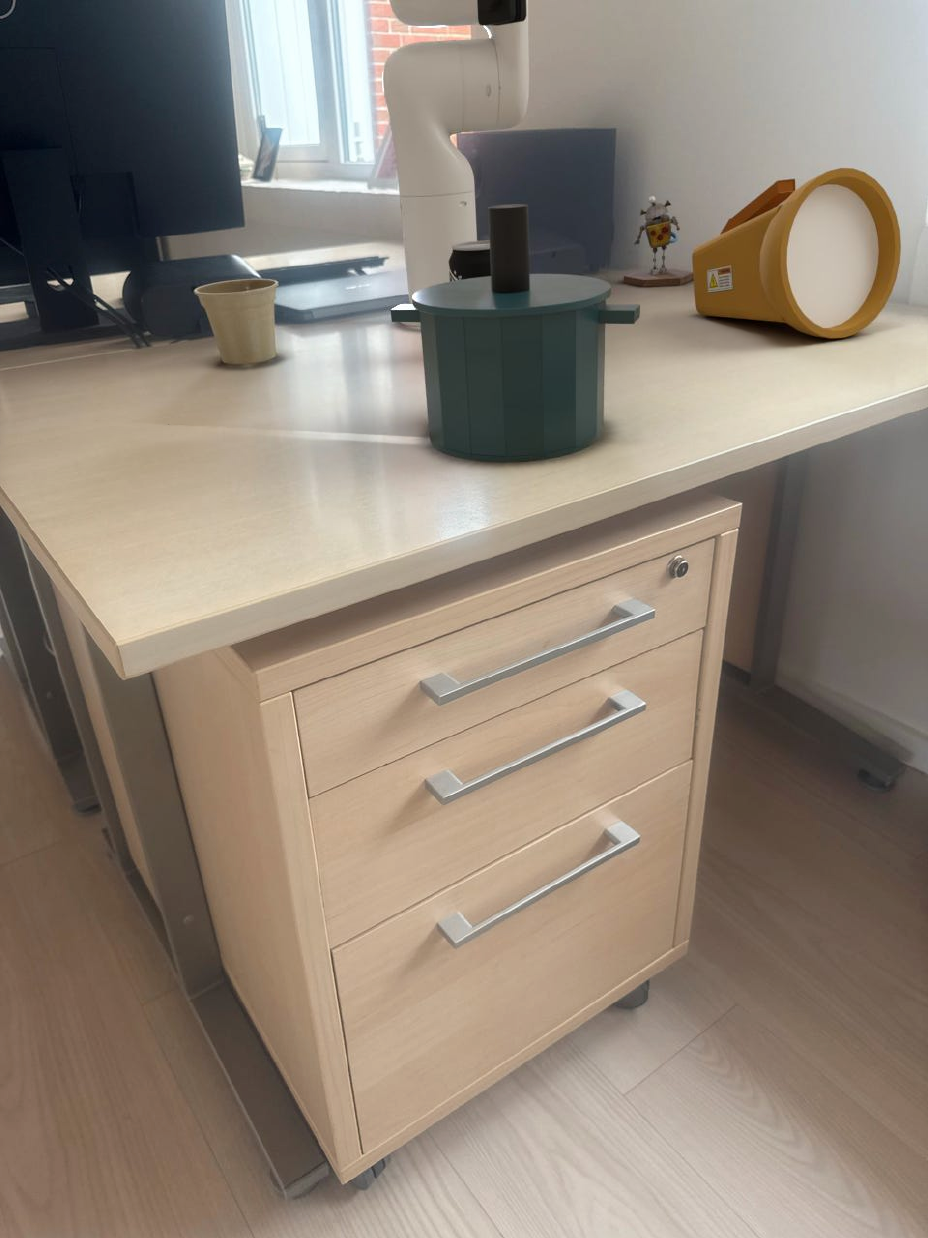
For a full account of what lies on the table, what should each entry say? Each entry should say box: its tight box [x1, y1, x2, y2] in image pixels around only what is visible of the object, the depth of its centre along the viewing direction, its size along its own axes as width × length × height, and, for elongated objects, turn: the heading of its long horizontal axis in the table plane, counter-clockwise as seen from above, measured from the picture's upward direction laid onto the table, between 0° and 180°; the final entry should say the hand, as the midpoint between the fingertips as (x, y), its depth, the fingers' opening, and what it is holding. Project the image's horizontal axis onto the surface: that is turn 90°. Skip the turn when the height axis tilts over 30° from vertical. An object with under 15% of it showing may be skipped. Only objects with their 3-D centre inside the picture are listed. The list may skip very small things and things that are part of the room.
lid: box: [412, 203, 612, 318], centre depth 68 cm, size 16×16×7 cm
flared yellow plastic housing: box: [691, 167, 902, 339], centre depth 102 cm, size 20×17×18 cm
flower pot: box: [193, 278, 279, 365], centre depth 102 cm, size 9×9×9 cm
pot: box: [390, 299, 641, 463], centre depth 72 cm, size 15×20×11 cm
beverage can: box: [449, 239, 491, 282], centre depth 96 cm, size 7×7×12 cm
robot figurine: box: [623, 195, 694, 288], centre depth 133 cm, size 11×9×12 cm
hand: (502, 22), depth 60 cm, fingers closed
